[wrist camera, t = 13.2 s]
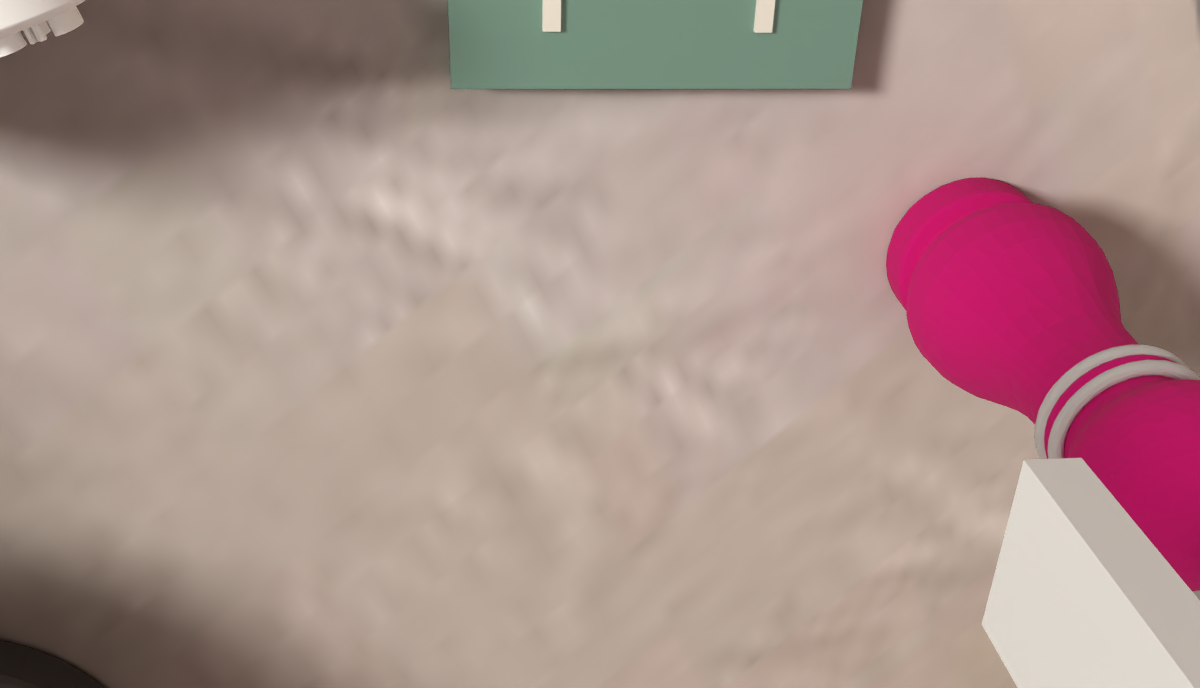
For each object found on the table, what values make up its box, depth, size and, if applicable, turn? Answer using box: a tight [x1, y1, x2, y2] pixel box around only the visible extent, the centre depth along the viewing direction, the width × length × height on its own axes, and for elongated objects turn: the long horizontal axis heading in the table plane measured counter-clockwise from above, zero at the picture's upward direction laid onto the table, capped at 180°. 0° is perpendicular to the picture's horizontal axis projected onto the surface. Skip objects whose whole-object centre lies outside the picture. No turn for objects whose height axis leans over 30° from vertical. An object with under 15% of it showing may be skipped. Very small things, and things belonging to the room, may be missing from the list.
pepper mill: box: [886, 178, 1200, 591], centre depth 37 cm, size 7×7×20 cm
